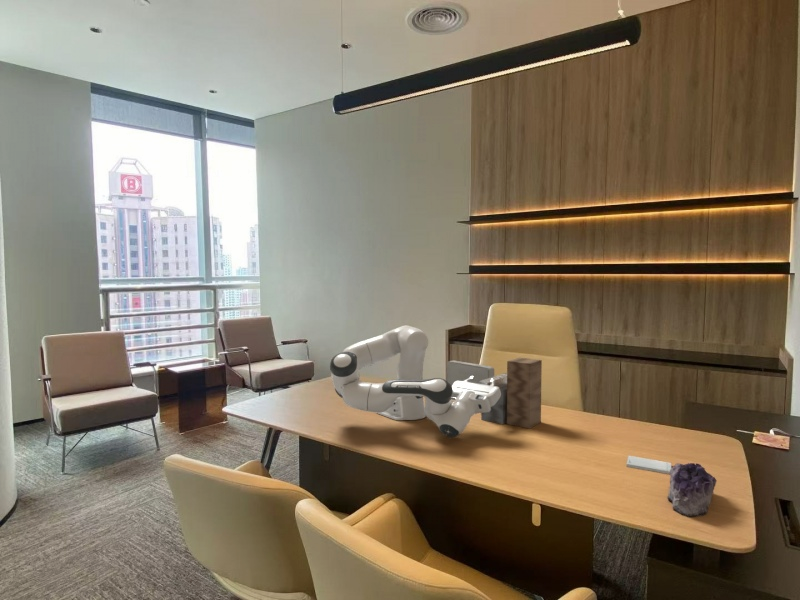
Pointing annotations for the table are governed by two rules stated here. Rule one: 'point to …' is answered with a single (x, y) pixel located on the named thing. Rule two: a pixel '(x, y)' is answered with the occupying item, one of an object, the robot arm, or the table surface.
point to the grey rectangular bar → (500, 380)
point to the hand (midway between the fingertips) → (483, 378)
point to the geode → (690, 489)
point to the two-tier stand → (519, 395)
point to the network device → (467, 371)
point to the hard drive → (648, 464)
